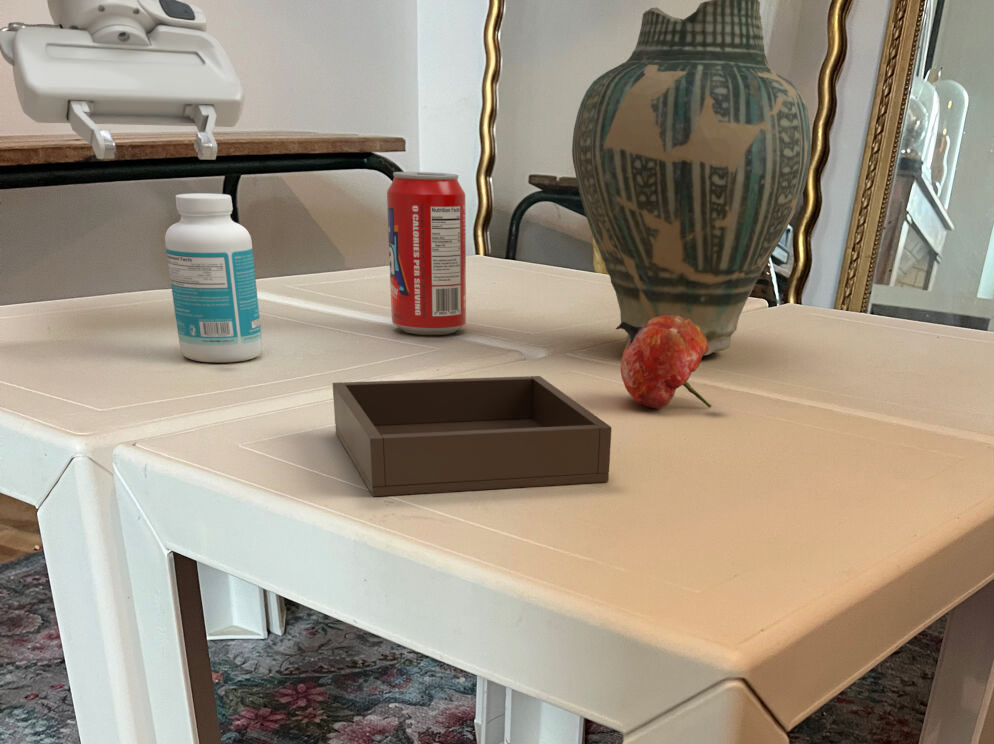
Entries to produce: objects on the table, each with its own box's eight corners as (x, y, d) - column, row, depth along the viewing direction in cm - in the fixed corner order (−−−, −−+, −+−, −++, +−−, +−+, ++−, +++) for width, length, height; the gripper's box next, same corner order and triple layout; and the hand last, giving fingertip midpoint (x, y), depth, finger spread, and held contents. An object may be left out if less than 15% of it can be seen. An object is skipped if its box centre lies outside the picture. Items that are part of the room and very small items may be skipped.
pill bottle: (237, 345, 109) (220, 190, 102) (278, 358, 104) (264, 197, 98) (165, 354, 104) (143, 192, 97) (205, 368, 100) (185, 199, 93)
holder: (372, 496, 69) (369, 438, 68) (335, 432, 82) (332, 382, 80) (608, 482, 74) (611, 427, 72) (538, 423, 87) (540, 375, 85)
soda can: (446, 340, 115) (444, 176, 108) (378, 332, 117) (371, 172, 110) (477, 328, 122) (477, 173, 114) (412, 321, 124) (408, 169, 116)
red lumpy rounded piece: (691, 422, 98) (606, 342, 96) (749, 360, 93) (661, 275, 92) (673, 452, 92) (581, 368, 90) (733, 387, 88) (638, 298, 86)
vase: (827, 371, 108) (882, -2, 93) (614, 380, 101) (637, -21, 86) (722, 330, 126) (754, 12, 111) (535, 336, 119) (542, -3, 104)
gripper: (-11, -9, 97) (42, 124, 95) (218, 9, 108) (270, 129, 106) (-12, 52, 102) (39, 180, 100) (206, 63, 113) (255, 179, 111)
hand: (159, 154), depth 103 cm, fingers open, 8 cm apart
